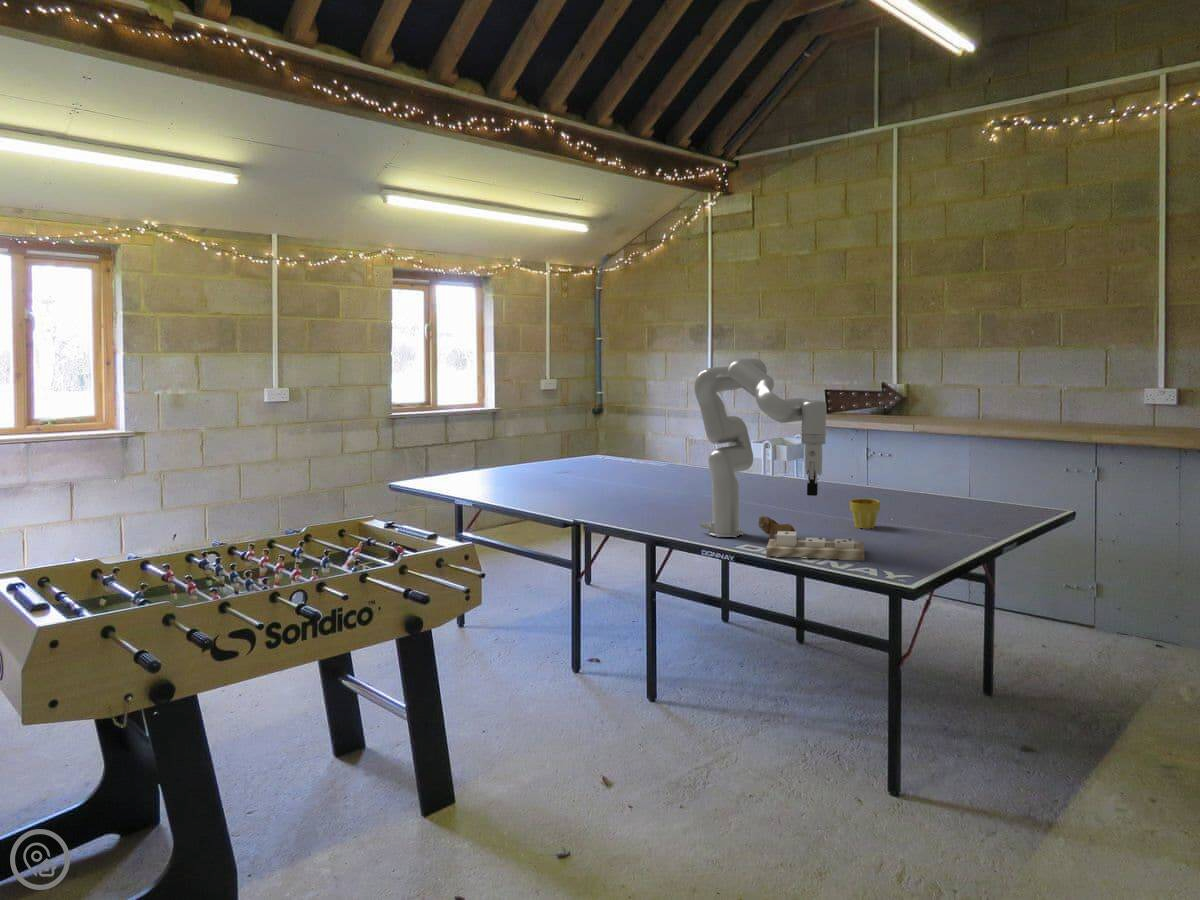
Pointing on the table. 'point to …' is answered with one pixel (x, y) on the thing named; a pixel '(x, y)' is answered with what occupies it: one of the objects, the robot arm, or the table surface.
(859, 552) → the board
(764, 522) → the lion figurine
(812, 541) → the tile two
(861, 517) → the plant pot
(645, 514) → the table surface
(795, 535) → the tile one
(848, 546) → the tile three
